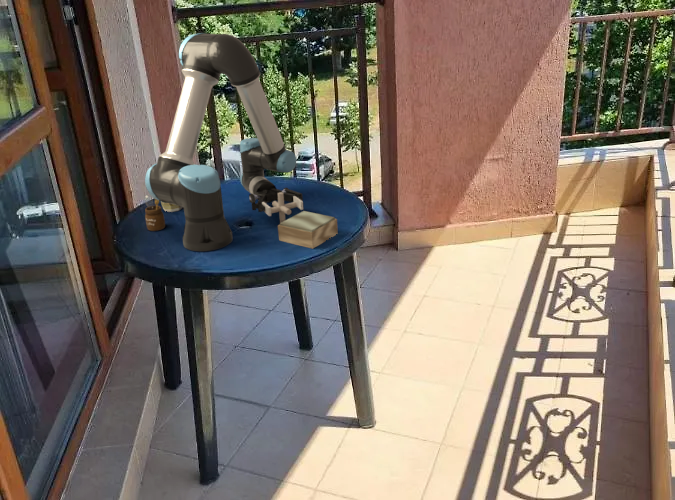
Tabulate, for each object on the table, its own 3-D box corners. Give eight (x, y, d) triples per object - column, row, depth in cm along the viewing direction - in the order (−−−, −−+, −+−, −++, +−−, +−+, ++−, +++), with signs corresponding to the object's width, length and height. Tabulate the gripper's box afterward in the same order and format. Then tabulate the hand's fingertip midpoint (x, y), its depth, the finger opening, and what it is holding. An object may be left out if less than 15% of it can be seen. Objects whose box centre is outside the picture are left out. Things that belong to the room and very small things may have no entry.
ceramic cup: (153, 212, 225) (148, 185, 221) (168, 203, 234) (163, 176, 230) (186, 215, 222) (181, 187, 217) (199, 205, 230) (195, 178, 226)
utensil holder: (157, 223, 215) (151, 189, 211) (170, 226, 212) (164, 192, 207) (143, 229, 211) (137, 194, 206) (155, 232, 208) (149, 197, 203)
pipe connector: (276, 230, 202) (273, 200, 198) (262, 221, 210) (259, 192, 206) (303, 223, 207) (301, 193, 202) (289, 214, 214) (287, 186, 210)
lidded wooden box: (312, 248, 190) (311, 231, 188) (279, 240, 197) (277, 223, 195) (337, 233, 200) (336, 217, 197) (304, 226, 207) (303, 210, 204)
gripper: (294, 194, 226) (319, 213, 208) (232, 206, 218) (252, 226, 199) (292, 174, 223) (318, 191, 205) (230, 185, 215) (250, 204, 196)
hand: (286, 208), depth 202 cm, fingers closed on pipe connector, 10 cm apart
